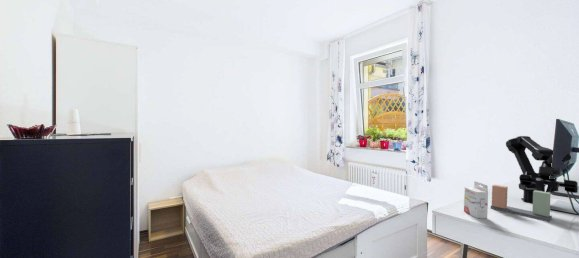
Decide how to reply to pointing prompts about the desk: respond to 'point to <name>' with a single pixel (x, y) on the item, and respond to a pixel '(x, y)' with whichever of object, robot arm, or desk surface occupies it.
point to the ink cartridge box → (476, 200)
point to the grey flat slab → (523, 213)
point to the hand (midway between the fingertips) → (544, 197)
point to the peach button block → (499, 196)
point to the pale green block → (541, 203)
